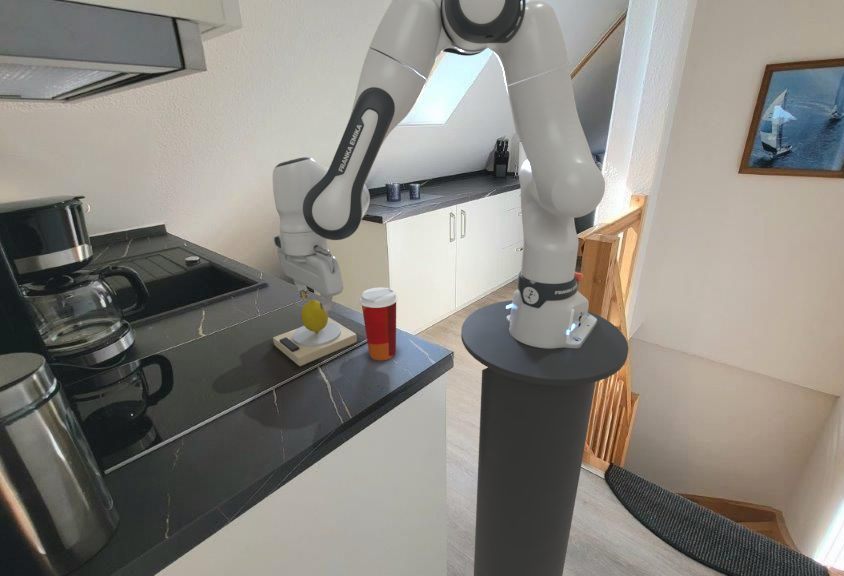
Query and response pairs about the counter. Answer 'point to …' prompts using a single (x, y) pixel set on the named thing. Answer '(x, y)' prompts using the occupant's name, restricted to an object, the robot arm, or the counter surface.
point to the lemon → (314, 316)
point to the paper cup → (380, 321)
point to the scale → (314, 342)
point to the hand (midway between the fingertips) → (315, 303)
